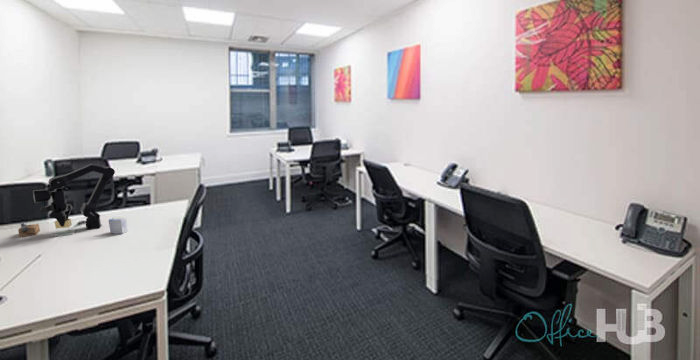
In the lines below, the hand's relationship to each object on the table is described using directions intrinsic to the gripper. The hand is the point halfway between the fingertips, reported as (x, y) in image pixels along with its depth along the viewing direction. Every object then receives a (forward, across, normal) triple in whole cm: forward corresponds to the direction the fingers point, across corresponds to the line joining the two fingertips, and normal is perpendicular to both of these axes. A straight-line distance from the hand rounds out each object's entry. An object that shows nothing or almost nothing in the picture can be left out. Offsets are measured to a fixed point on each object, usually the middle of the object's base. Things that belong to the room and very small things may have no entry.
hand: (63, 225), depth 195 cm
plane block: (+5, -8, -18) cm, 20 cm away
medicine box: (+6, +11, +28) cm, 30 cm away
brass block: (+1, 0, 0) cm, 1 cm away
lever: (0, -2, -18) cm, 18 cm away
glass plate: (+5, 0, 0) cm, 5 cm away
